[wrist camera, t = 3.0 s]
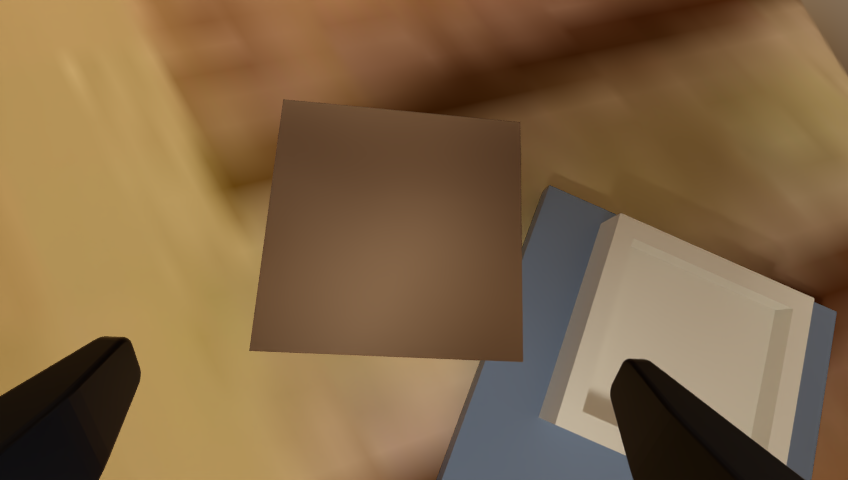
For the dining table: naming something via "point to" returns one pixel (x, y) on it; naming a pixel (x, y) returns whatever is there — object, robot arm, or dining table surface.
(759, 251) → the dining table surface
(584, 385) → the board
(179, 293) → the dining table surface
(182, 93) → the dining table surface
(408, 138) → the pillar
